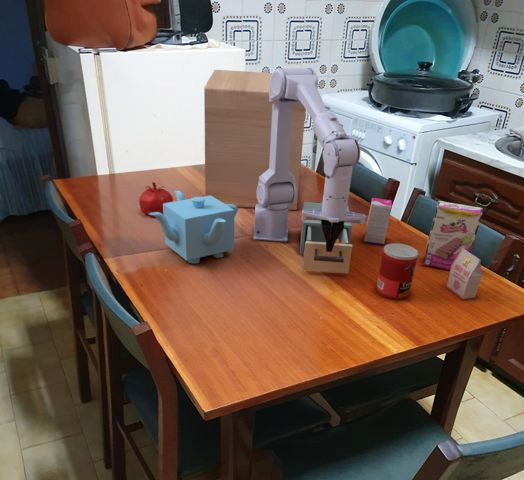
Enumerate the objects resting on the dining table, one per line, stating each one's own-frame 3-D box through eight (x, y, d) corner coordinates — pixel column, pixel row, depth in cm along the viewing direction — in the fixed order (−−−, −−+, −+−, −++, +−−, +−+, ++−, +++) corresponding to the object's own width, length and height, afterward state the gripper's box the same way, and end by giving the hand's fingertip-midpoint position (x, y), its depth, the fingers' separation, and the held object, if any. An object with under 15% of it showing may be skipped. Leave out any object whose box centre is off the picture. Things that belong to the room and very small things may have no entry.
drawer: (349, 283, 132) (353, 255, 128) (302, 279, 132) (305, 251, 128) (344, 249, 148) (348, 224, 144) (302, 246, 149) (305, 220, 145)
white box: (457, 284, 137) (468, 247, 131) (475, 297, 132) (487, 259, 126) (445, 286, 136) (455, 248, 130) (462, 299, 130) (473, 260, 125)
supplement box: (384, 245, 154) (392, 206, 148) (363, 243, 155) (370, 203, 149) (384, 238, 159) (392, 199, 152) (364, 235, 160) (370, 197, 153)
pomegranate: (164, 221, 161) (162, 189, 155) (134, 215, 163) (131, 184, 158) (179, 210, 169) (178, 180, 163) (149, 205, 171) (148, 175, 166)
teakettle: (240, 243, 150) (241, 190, 142) (224, 273, 135) (225, 215, 127) (173, 235, 153) (171, 183, 144) (151, 263, 137) (147, 206, 129)
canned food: (402, 303, 127) (412, 260, 121) (370, 293, 130) (378, 250, 124) (413, 291, 132) (423, 249, 126) (382, 281, 136) (390, 240, 130)
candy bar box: (421, 266, 144) (436, 205, 135) (423, 258, 148) (437, 199, 139) (465, 274, 142) (483, 213, 132) (465, 266, 146) (483, 206, 136)
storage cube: (296, 210, 174) (307, 93, 154) (205, 205, 173) (204, 87, 153) (292, 177, 202) (301, 74, 182) (214, 173, 201) (214, 69, 182)
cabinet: (347, 258, 146) (352, 225, 141) (300, 254, 146) (303, 222, 141) (343, 235, 159) (347, 204, 154) (300, 232, 159) (303, 201, 154)
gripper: (304, 198, 121) (298, 254, 128) (369, 202, 120) (360, 259, 128) (304, 188, 126) (298, 242, 134) (366, 192, 126) (357, 247, 134)
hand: (328, 250), depth 131 cm, fingers closed
